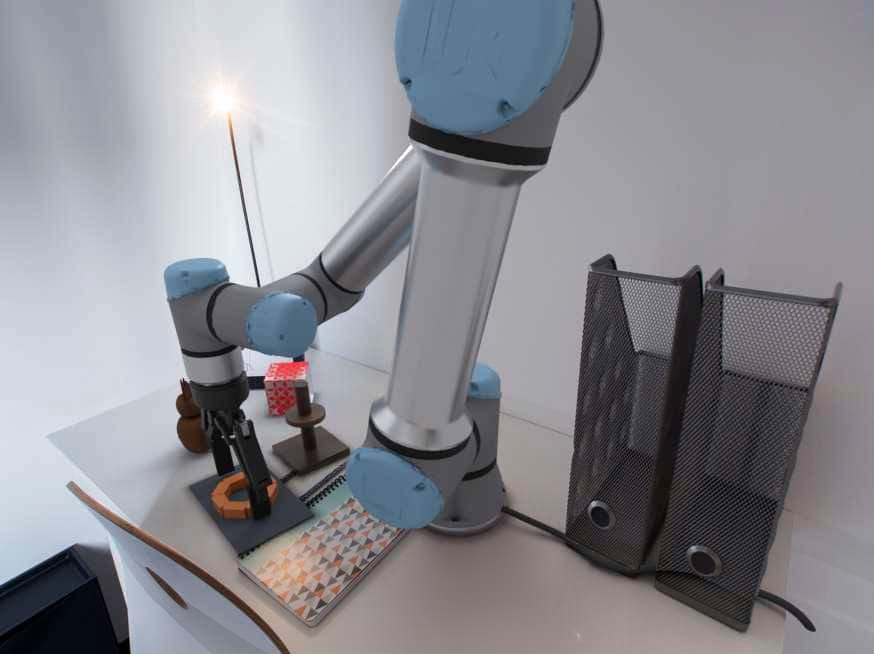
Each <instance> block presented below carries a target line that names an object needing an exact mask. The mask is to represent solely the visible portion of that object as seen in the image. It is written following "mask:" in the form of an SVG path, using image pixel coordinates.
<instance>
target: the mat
mask: <svg viewBox="0 0 874 654" xmlns="http://www.w3.org/2000/svg"><path fill="white" fill-rule="evenodd" d="M234 468H235V471H232V472H230V473H228V474H225V475H223V476H220V477H219V476H218V474H217V473H216V474H214V475H210V476H209V477H205V478H204V479H202V480H199V481H197V482H194V483H192V484H189V485H188V488H189V490H190V491H191V492H192V494H193V495H194V496H195V497H196V499H197V501H198V502H199V503H200V504H201V506H202V507H203V508H204V510H205V511H206V512H207V513H208V515H209V516H210V518H211V519H212V521H213V523H214V524H215V525H216V526H217V527H218V528H219V530H220V532H221V533H222V535H224V537H225V538H226V540H227V541H228V542H229V543H230V545H231V546H232V547H233V549H234V550H235V552H236V553H237V555H238V556H241V555H244V554H245V553H247V552H249V551H251V550H253V549H255V548H257V547H259V546H262V545H263V544H265V543H267V542H269V541H271V540H272V539H275V538H276V537H279V536H280V535H282V534H283V533H285V532H287V531H289V530H292V529H293V528H295V527H297V526H299V525H301V524H303V523H305V522H307V521H309V520H311V519H313V518H314V517H316V514H315V512H313V511H312V510H311V509H310V508H309V507H308V506H307V505H306V504H305V503H304V502H303V501H302V500H301V498H299V497H298V496H297V495H296V494H295V493H294V492H293V491H292V490H291V489H290V488H289V487H288V486H287V485H286V484H285V483H284V482H283V481H282V480H281V479H280V478H279V477H278V476H276V474H275V473H274V472H273V471H272V470H271V469H269V468H268V470H269V473H270V475H271V476H272V477H273V478H274V479H275V480H276V481H277V485H278V490H279V493H278V495H277V497H276V499H275V501H274V503H273V505H272V506H271V512H272V513H271V514H269V515H267V516H264V517H262V518H260V519H258V520H256V521H255V520H254V519H253V517H251V518H249V517H248V516H247V517H246V519H239V518H225V517H224V516H223V517H222V516H221V515H220V514H219V512H218V511H217V510H216V508H215V507H214V505H213V502H212V498H211V497H212V493H213V492H214V490H215V489H216V487H217V486H218V484H219V483H220V482H223V480H224V479H226V478H228V477H231V476H233V475H235V474H238V473H240V472H243V471H242V469H241V466H240V464H239V463H238V464H237V465H234ZM245 487H246V486H245ZM228 500H229V501H234V502H246V501H248V500H249V498H248V494H247V491H245V489H244V487H243V488H241V489H239V490H236V491H234V492H232V493H231V495H230V497H229V498H228Z"/></svg>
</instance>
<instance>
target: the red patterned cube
mask: <svg viewBox="0 0 874 654" xmlns="http://www.w3.org/2000/svg"><path fill="white" fill-rule="evenodd" d="M298 381H306V382H308V387H309V393H310V400H311V403H314V402H313V400H314V396H315V392H314V385H313V384H314V383H313V377H312V369H311V364H310V361H293V362H271V363H270V365H269V367H268V369H267V372H266V374H265V376H264V379H263V384H264V391H265V395H266V396H265V397H266V401H267V407H268V411H269V416H272V417H273V416H285V413H286V411H287V410H288V409H289V408H291V407H293V406H295V405H296V398H295V392H294V386H293V385H294V383H295V382H298Z"/></svg>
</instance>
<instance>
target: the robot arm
mask: <svg viewBox="0 0 874 654" xmlns="http://www.w3.org/2000/svg"><path fill="white" fill-rule="evenodd" d="M394 25H395V26H394V33H393V55H394V64H395V65H394V66H395V69H396V74H397V77H398V80H399V83H400V84H402V86H403V89H404V92H405V94H406V98H407V100H408V102H409V103H410V105H411V106H410V107H411V108H410V116H409V124H408V131H407V141H408V143H409V144H410V146H409V147H408V148H407V149H406V150H405V151H404V153H403V154H402V155H401V156H400V157H399V158H398V160H397V161H396V162H395V163H394V164H393V166H391V168H390V169H389V170H388V172H387V173H386V174H385V175H384V177H382V178H381V180H380V181H379V182H378V183H377V185H375V187H374V188H373V190H371V191H370V193H369V194H368V195H367V196H366V198H365V199H364V200H363V201H362V203H360V205H359V206H358V207H357V208H356V210H355V211H353V213H352V214H351V215H350V217H349V218H348V219H347V220H345V223H343V225H342V226H340V228H339V230H338V231H337V232H336V233H335V234H334V235H333V237H331V239H330V240H329V242H327V243H326V245H325V246H324V247H323V249H322V250H321V251H320V253H318V255H317V256H316V257H315V258H314V259H313V260H312V262H311V263H310V264H309V265H308V266H306V267H304V268H303V269H300V270H298V271H296V272H293V273H290V274H289V275H287V276H284V277H282V278H279V279H276V280H274V281H272V282H270V283H267V284H265V285H263V286H250V285H249V286H248V285H243V284H239V283H235V282H231V281H230V279H231V276H230V275H229V273H228V269H227V266H226V265H225V263H223V262H222V261H221V260H219V259H216V258H212V257H195V258H187V259H183V260H178V261H176V262H173V263H171V264H170V265H167V267H166V268H165V270H164V272H163V280H164V286H165V292H166V297H167V298H166V302H167V303H168V306H169V311H170V313H171V317H172V321H173V325H174V329H175V332H176V336H177V340H178V343H179V347H180V354H181V356H182V357H181V358H182V362H183V366H184V370H185V373H186V377H187V379H189V380H188V381H189V382H188V383H189V384H190V388H191V392H192V396H193V400H194V403H195V404H196V405H197V406H198V407H199V408H201V422H202V430H203V431H204V433H205V432H207V438H208V439H209V441H212V442H210V446H211V449H210V450H211V453H212V457H213V461H214V466H215V470H216V474H218V476H219V477H220V476H223V475H225V474H228V473H230V472H232V471H235V468H234V467H235V464H234V459H233V454H232V450H233V452H234V455H235V457H236V460H237V462H238V465H239V464H240V466H241V469H242V471H243V473H244V476H245V478H246V480H247V482H248V484H246V487H244V489H245V491H247V494H248V498H249V503H250V508H251V512H252V517H253V519H254V520H255V521H256V520H258V519H260V518H262V517H264V516H267V515H269V514H271V513H272V512H271V506H270V501H269V496H268V490H267V487H268V486H270V485H272V484H273V481H272V479H271V476H270V473H269V470H270V469H269V467H268V465H267V462H266V459H265V457H264V453H263V450H262V447H261V445H260V443H259V440H258V437H257V434H256V430H255V425H254V421H253V420H252V419H251V418H249V419H247V416H246V414H245V411H244V410H243V408H241V406H242V404H244V402H246V400H247V399H248V398H249V396H250V385H249V380H248V376H247V371H246V370H245V361H244V356H243V351H245V349H247V350H250V351H253V352H257V353H260V354H262V355H265V356H270V357H271V356H273V357H281V358H287V359H294V358H298V357H301V356H302V355H304V354H305V353H306V352H307V351H308V350H309V348H310V347H309V346H310V344H313V343H314V341H315V338H316V336H317V331H318V328H319V326H321V325H322V324H324V323H326V322H328V321H330V320H331V319H334V318H335V317H337V316H339V315H341V314H343V313H347V312H348V311H349V310H351V309H352V308H353V307H354V306H356V305H357V304H358V303H359V302H361V300H362V299H363V298H364V296H365V292H366V289H367V287H368V286H370V284H372V282H373V281H374V280H375V279H377V278H378V276H380V275H381V274H382V273H383V272H384V270H386V269H387V268H388V267H389V266H390V265H391V264H392V263H393V262H394V261H395V260H396V259H397V258H398V257H399V256H400V255H401V254H402V253H403V252H404V251H405V250H406V249H407V248H408V254H407V260H406V266H405V273H404V278H403V285H402V290H401V291H402V292H401V299H400V305H399V311H398V317H397V323H396V331H395V336H394V343H393V348H392V349H393V350H392V355H391V362H390V367H389V368H390V369H389V375H388V381H387V388H386V389H384V390H382V391H380V392H379V393H377V395H376V396H375V397H374V398H373V399H372V402H371V404H370V408H369V416H368V423H367V430H366V435H365V439H364V441H363V443H362V444H361V446H359V447H357V448H355V449H354V450H353V452H352V453H351V455H350V457H349V458H348V460H347V462H346V465H345V469H344V474H345V475H344V477H345V482H346V484H347V487H348V489H349V491H350V493H351V495H352V496H353V498H354V499H355V500H356V501H357V502H358V503H359V505H360V507H362V508H363V509H364V510H365V511H366V512H367V513H368V514H369V515H371V516H372V517H373V518H375V519H377V520H378V521H380V522H382V523H384V524H386V525H388V526H389V527H393V528H396V529H399V530H400V529H401V530H406V531H409V530H410V531H411V530H413V529H414V530H419V529H422V528H423V529H425V530H427V531H429V532H432V533H434V534H436V535H441V536H445V537H455V538H463V537H471V536H476V535H479V534H482V533H485V532H487V531H489V530H491V529H493V528H494V527H496V526H497V524H499V523H500V522H501V521H502V520H503V518H504V516H505V514H506V515H508V516H510V517H513V518H514V519H517V520H519V521H521V522H524V523H526V524H527V525H530V526H532V527H535V528H536V529H539V530H541V531H543V532H546V533H548V534H549V535H552V536H554V537H556V538H558V539H560V540H561V541H563V542H565V543H566V544H568V545H569V546H570V547H572V548H574V549H575V550H576V551H577V552H579V553H580V554H581V555H582V556H583V557H585V558H586V559H588V560H589V561H590V562H592V563H593V564H595V565H597V566H599V567H601V568H603V569H606V570H609V571H612V572H615V573H616V572H617V573H621V574H643V573H651V572H657V571H656V569H657V567H656V566H657V563H658V562H657V563H647V564H640V565H641V567H640V569H637V570H628V569H626V568H625V567H623V566H621V565H622V564H618V563H614V562H612V561H611V562H610V561H607V560H605V559H603V558H601V557H599V556H597V555H596V554H594V553H593V552H592V551H590V550H588V549H587V548H586V547H584V546H583V545H582V544H581V542H578V541H577V540H575V539H574V538H573V537H571V538H572V539H574V540H575V541H576V542H577V543H579V544H580V545H578V544H576V543H574V542H573V541H571V540H569V539H567V538H566V535H567V534H566V533H564V531H560V530H559V529H557V528H554V527H553V526H551V525H548V524H546V523H544V522H542V521H539V520H537V519H535V518H532V517H530V516H529V515H526V514H524V513H521V512H519V511H517V510H515V509H513V508H510V507H508V506H507V503H508V502H507V501H508V493H507V489H506V485H505V483H504V481H503V477H502V473H501V471H500V467H499V464H498V445H499V444H498V443H499V442H498V441H499V430H500V429H499V428H500V427H499V426H500V411H501V398H502V396H503V393H502V392H501V378H500V376H499V373H498V372H496V370H494V369H493V368H491V366H489V365H487V364H483V363H481V362H477V359H478V356H479V351H480V347H481V344H482V341H483V336H484V333H485V329H486V324H487V321H488V318H489V313H490V310H491V305H492V301H493V298H494V297H493V296H494V293H495V290H496V286H497V283H498V278H499V275H500V272H501V271H500V270H501V268H502V263H503V259H504V255H505V253H506V248H507V245H508V240H509V236H510V233H511V232H510V231H511V228H512V226H513V221H514V217H515V215H516V210H517V206H518V202H519V198H520V194H521V190H522V187H523V185H524V184H525V183H526V182H527V181H528V180H530V179H531V178H532V177H534V176H536V175H537V174H538V173H540V172H541V171H543V170H544V169H545V168H546V167H547V164H548V161H549V158H550V154H551V151H552V149H553V148H552V147H553V144H554V141H555V137H556V133H557V131H558V127H559V124H560V119H561V117H562V114H563V113H564V112H565V111H566V110H568V109H569V108H571V106H572V105H574V103H576V101H578V99H579V98H581V96H582V95H583V93H584V92H585V91H586V89H587V88H588V86H589V84H590V83H591V81H592V79H593V78H594V76H595V74H596V72H597V69H598V66H599V64H600V61H601V58H602V53H603V47H604V41H605V19H604V15H603V10H602V5H601V2H600V0H401V1H400V4H399V7H398V11H397V15H396V19H395V24H394ZM233 436H234V437H233ZM231 448H232V450H231ZM268 469H269V470H268ZM565 534H566V535H565ZM756 597H757V598H760V599H763V600H766V601H768V602H771V603H772V604H775V605H777V606H778V607H781V608H782V609H784V610H785V611H787V612H788V613H789V614H791V615H792V616H793V617H795V618H796V619H797V621H798V622H800V624H801V625H802V626H803V627H804V628H805V629H806V630H807V631H809V632H811V633H815V632H817V629H816V627H815V625H814V623H813V621H811V619H810V618H809V617H808V616H807V615H806V614H805V613H804V612H803V611H801V610H800V608H798V607H796V606H795V605H794V604H792V603H791V602H789V601H788V600H787V599H784V598H782V597H780V596H779V595H776V594H774V593H771V592H769V591H766V590H764V589H761V588H759V592H758V595H757V596H756Z"/></svg>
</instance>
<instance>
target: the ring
mask: <svg viewBox="0 0 874 654" xmlns="http://www.w3.org/2000/svg"><path fill="white" fill-rule="evenodd" d="M270 476H271V475H270ZM271 479H272V481H273V484H272V485H270V486H268V487H267V490H268V496H269V501H270V506H272V505H273V503H274V501H275V499H276V497H277V495H278V493H279V490H278V485H277V481H276V480H275V479H274V478H273V477H272V476H271ZM246 484H248V482H247V480H246V478H245V476H244V473H243V472H240V473H238V474H235V475H233V476H231V477H228V478H226V479H224V480H223V482H220V483H219V484H218V486H217V487H216V489H215V490H214V492H213V493H212V497H211V498H212V502H213V505H214V507H215V508H216V510H217V511H218V512H219V514H220V515H221V516H222V517H223V516H224V517H225V518H239V519H246V517H247V516H248V517H249V518H251V517H252V512H251V508H250V503H249V500H248V501H246V502H234V501H229V500H228V498H229V497H230V495H231V493H232V492H234V491H236V490H239V489H241V488H243V487H245V486H246Z"/></svg>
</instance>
